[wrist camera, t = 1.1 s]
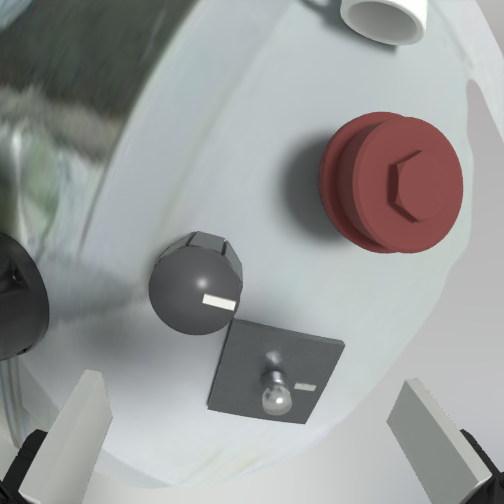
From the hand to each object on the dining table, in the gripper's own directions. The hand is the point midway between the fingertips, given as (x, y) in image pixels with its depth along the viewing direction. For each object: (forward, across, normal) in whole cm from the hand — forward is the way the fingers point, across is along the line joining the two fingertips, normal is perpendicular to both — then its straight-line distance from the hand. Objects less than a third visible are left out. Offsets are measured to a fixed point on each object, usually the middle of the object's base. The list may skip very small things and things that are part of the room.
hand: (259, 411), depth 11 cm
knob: (+18, -4, 0) cm, 18 cm away
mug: (+18, +9, +30) cm, 36 cm away
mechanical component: (+18, +9, +10) cm, 22 cm away
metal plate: (+18, +4, -12) cm, 22 cm away
